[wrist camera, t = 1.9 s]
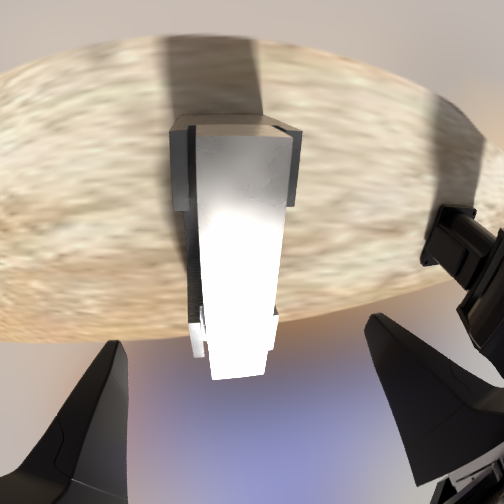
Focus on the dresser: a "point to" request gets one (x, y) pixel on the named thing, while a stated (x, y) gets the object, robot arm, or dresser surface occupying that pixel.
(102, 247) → the dresser surface
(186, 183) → the standards
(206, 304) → the rail
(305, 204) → the dresser surface
